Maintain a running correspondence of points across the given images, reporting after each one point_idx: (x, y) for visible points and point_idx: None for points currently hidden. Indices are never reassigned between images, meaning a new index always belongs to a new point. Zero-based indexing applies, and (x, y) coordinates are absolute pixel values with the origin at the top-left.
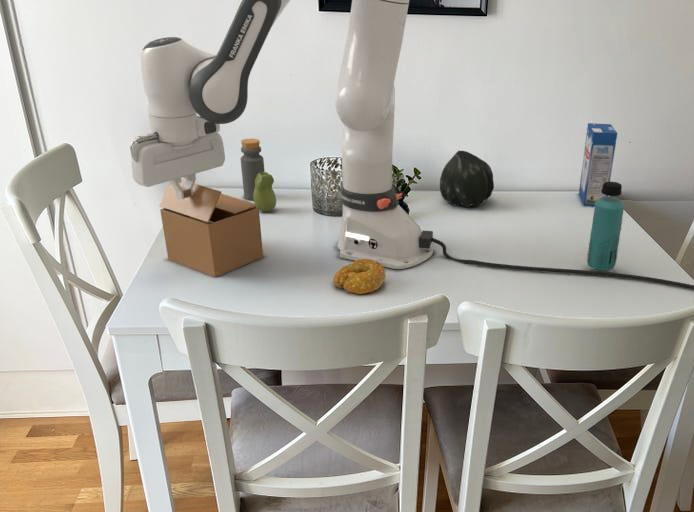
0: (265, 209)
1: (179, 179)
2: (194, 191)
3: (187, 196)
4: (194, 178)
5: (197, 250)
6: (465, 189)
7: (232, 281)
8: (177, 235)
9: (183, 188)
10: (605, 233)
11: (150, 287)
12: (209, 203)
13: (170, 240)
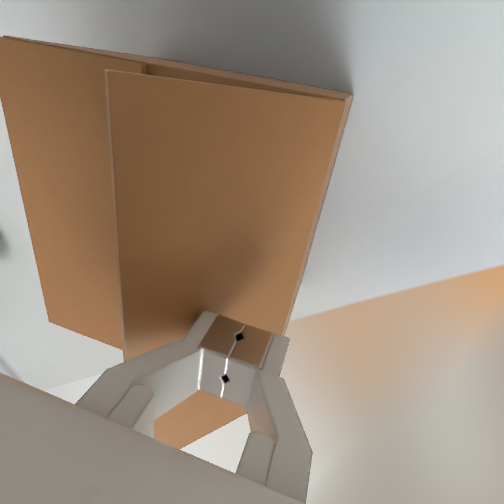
0: None
1: (256, 469)
2: (176, 321)
3: (247, 325)
4: (117, 378)
5: (327, 182)
6: None
7: (363, 7)
8: (298, 283)
9: (221, 382)
10: None
11: (495, 230)
12: (235, 153)
13: (294, 300)
